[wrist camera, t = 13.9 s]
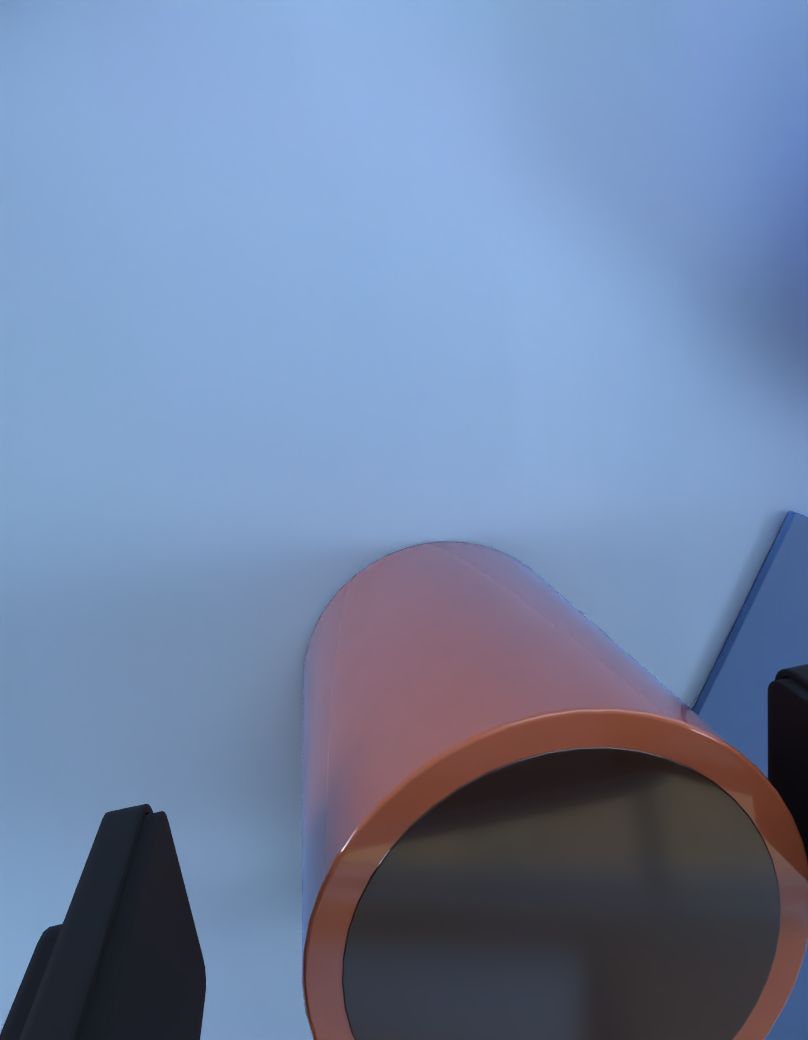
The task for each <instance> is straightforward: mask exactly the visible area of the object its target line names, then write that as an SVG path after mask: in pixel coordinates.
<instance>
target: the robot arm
mask: <svg viewBox="0 0 808 1040" xmlns="http://www.w3.org/2000/svg"><path fill="white" fill-rule="evenodd" d="M768 780H769V781H770V782H771V783H772V785H773V786H774V787H775V788H776V789H777V791H778V793H779V794H780V796H781V797H782V799H783V801H784V802H785V804H786V806H787V807H788V809H789V810H790V812H791V814H792V816H793V819H794V821H795V824H796V826H797V828H798V831H799V833H800V836H801V838H802V841H803V844H804V848H805V852H806V856H807V860H808V664H805V665H800V666H796V667H791V668H786V669H781V670H780V671H779V672H777V674H776V677H775V681H772V682H771V683H770V684H769V686H768ZM205 992H206V973H205V965H204V960H203V956H202V952H201V948H200V944H199V940H198V936H197V932H196V928H195V924H194V920H193V916H192V913H191V909H190V905H189V901H188V897H187V893H186V889H185V885H184V881H183V877H182V873H181V869H180V866H179V862H178V858H177V854H176V850H175V846H174V842H173V838H172V834H171V830H170V826H169V822H168V819H167V816H166V814H165V812H163V811H161V812H157V813H153V811H152V809H151V807H150V806H149V805H148V804H143V805H139V806H134V807H129V808H125V809H120V810H115V811H110V812H107V813H105V815H104V817H103V819H102V822H101V824H100V827H99V830H98V832H97V835H96V837H95V840H94V843H93V845H92V848H91V851H90V853H89V856H88V859H87V861H86V864H85V867H84V869H83V872H82V875H81V877H80V880H79V883H78V885H77V888H76V890H75V893H74V896H73V898H72V901H71V904H70V906H69V909H68V912H67V914H66V917H65V920H64V922H63V924H60V925H56V926H52V927H49V928H48V929H46V930H45V931H44V932H43V934H42V936H41V937H40V939H39V941H38V943H37V946H36V948H35V951H34V953H33V955H32V958H31V960H30V963H29V965H28V968H27V970H26V973H25V975H24V977H23V980H22V982H21V985H20V987H19V990H18V992H17V995H16V997H15V1000H14V1002H13V1004H12V1007H11V1009H10V1012H9V1014H8V1017H7V1019H6V1022H5V1024H4V1027H3V1029H2V1031H1V1034H0V1040H200V1035H201V1026H202V1018H203V1010H204V1001H205Z"/></svg>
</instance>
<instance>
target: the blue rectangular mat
mask: <svg viewBox="0 0 808 1040" xmlns="http://www.w3.org/2000/svg"><path fill="white" fill-rule="evenodd" d="M805 664H808V517H806V516H803V515H801V514H799V513H796V512H793V511H789V513H788V515H787V517H786V519H785V521H784V523H783V525H782V527H781V529H780V531H779V533H778V536H777V538H776V540H775V542H774V544H773V546H772V548H771V550H770V552H769V554H768V556H767V558H766V560H765V562H764V565H763V567H762V569H761V571H760V573H759V575H758V577H757V579H756V581H755V583H754V585H753V587H752V589H751V591H750V594H749V596H748V598H747V600H746V602H745V604H744V606H743V608H742V610H741V612H740V614H739V616H738V618H737V620H736V622H735V625H734V627H733V629H732V631H731V633H730V635H729V637H728V639H727V641H726V643H725V645H724V647H723V649H722V651H721V654H720V656H719V658H718V660H717V662H716V664H715V666H714V668H713V670H712V672H711V674H710V676H709V678H708V680H707V683H706V685H705V687H704V689H703V691H702V693H701V695H700V697H699V699H698V701H697V703H696V705H695V707H694V709H693V711H694V712H695V713H696V714H697V715H698V716H700V717H701V718H702V719H703V720H704V721H705V722H706V723H708V724H709V725H710V726H711V727H712V728H713V729H714V730H716V731H717V732H718V733H719V734H720V735H721V736H722V737H724V738H725V739H726V740H727V741H728V742H729V743H730V744H732V745H733V746H734V747H735V748H736V749H737V750H738V751H740V752H741V753H742V754H743V755H744V756H745V757H746V758H748V759H749V760H750V761H751V762H752V763H753V764H754V765H756V766H757V767H758V768H759V769H760V771H761V772H762V773H763V774H764V775H765V776H766V778H767V779H768V686H769V684H770V683H771V682H772V681H775V677H776V674H777V672H779V671H780V670H781V669H786V668H791V667H796V666H800V665H805ZM764 1040H808V942H807V948H806V953H805V956H804V960H803V963H802V966H801V969H800V972H799V975H798V978H797V981H796V983H795V986H794V988H793V990H792V992H791V994H790V996H789V998H788V1001H787V1003H786V1005H785V1007H784V1009H783V1011H782V1012H781V1014H780V1016H779V1017H778V1019H777V1021H776V1022H775V1024H774V1025H773V1027H772V1029H771V1030H770V1032H769V1034H768V1035H767V1036H766V1038H765V1039H764Z"/></svg>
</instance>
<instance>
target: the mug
mask: <svg viewBox="0 0 808 1040" xmlns="http://www.w3.org/2000/svg"><path fill="white" fill-rule="evenodd" d="M807 942H808V860H807V856H806V852H805V848H804V844H803V841H802V838H801V836H800V833H799V831H798V828H797V826H796V824H795V821H794V819H793V816H792V814H791V812H790V810H789V809H788V807H787V806H786V804H785V802H784V801H783V799H782V797H781V796H780V794H779V793H778V791H777V789H776V788H775V787H774V786H773V785H772V783H771V782H770V781H769V780H768V779H767V778H766V776H765V775H764V774H763V773H762V772H761V771H760V769H759V768H758V767H757V766H756V765H754V764H753V763H752V762H751V761H750V760H749V759H748V758H746V757H745V756H744V755H743V754H742V753H741V752H740V751H738V750H737V749H736V748H735V747H734V746H733V745H732V744H730V743H729V742H728V741H727V740H726V739H725V738H724V737H722V736H721V735H720V734H719V733H718V732H717V731H716V730H714V729H713V728H712V727H711V726H710V725H709V724H708V723H706V722H705V721H704V720H703V719H702V718H701V717H700V716H698V715H697V714H696V713H695V712H694V711H693V710H692V709H690V708H689V707H688V706H687V705H686V704H685V703H684V702H682V701H681V700H680V699H679V698H678V697H677V696H676V695H674V694H673V693H672V692H671V691H670V690H669V689H668V688H666V687H665V686H664V685H663V684H662V683H661V682H660V681H658V680H657V679H656V678H655V677H654V676H653V675H652V674H650V673H649V672H648V671H647V670H646V669H645V668H644V667H642V666H641V665H640V664H639V663H638V662H637V661H636V660H634V659H633V658H632V657H631V656H630V655H629V654H628V653H626V652H625V651H624V650H623V649H622V648H621V647H620V646H618V645H617V644H616V643H615V642H614V641H613V640H612V639H610V638H609V637H608V636H607V635H606V634H605V633H604V632H602V631H601V630H600V629H599V628H598V627H597V626H596V625H594V624H593V623H592V622H591V621H590V620H589V619H588V618H586V617H585V616H584V615H583V614H582V613H581V612H580V611H578V610H577V609H576V608H575V607H574V606H573V605H572V604H570V603H569V602H568V601H567V600H566V599H565V598H564V597H563V596H561V595H560V594H559V593H558V592H557V591H556V590H555V589H553V588H552V587H551V586H550V585H549V584H548V583H547V582H545V581H544V580H543V579H542V578H541V577H540V576H538V575H537V574H536V573H535V572H534V571H533V570H531V569H530V568H529V567H528V566H526V565H525V564H523V563H521V562H520V561H518V560H517V559H515V558H513V557H511V556H509V555H507V554H505V553H502V552H500V551H498V550H495V549H492V548H488V547H485V546H482V545H477V544H470V543H464V542H436V543H427V544H422V545H417V546H413V547H409V548H405V549H403V550H400V551H397V552H395V553H392V554H389V555H387V556H385V557H383V558H382V559H380V560H378V561H376V562H374V563H372V564H371V565H369V566H368V567H366V568H365V569H363V570H362V571H361V572H359V573H358V574H356V575H355V576H354V577H353V578H352V579H351V580H350V581H349V582H347V583H346V584H345V585H344V586H343V587H342V588H341V589H340V590H339V592H338V593H337V594H336V595H335V596H334V597H333V599H332V600H331V601H330V602H329V604H328V605H327V607H326V608H325V610H324V612H323V613H322V615H321V616H320V618H319V620H318V622H317V624H316V626H315V628H314V631H313V633H312V635H311V638H310V641H309V645H308V648H307V651H306V657H305V662H304V668H303V791H302V988H303V996H304V1004H305V1012H306V1016H307V1019H308V1023H309V1026H310V1030H311V1033H312V1037H313V1040H764V1039H765V1038H766V1036H767V1035H768V1034H769V1032H770V1030H771V1029H772V1027H773V1025H774V1024H775V1022H776V1021H777V1019H778V1017H779V1016H780V1014H781V1012H782V1011H783V1009H784V1007H785V1005H786V1003H787V1001H788V998H789V996H790V994H791V992H792V990H793V988H794V986H795V983H796V981H797V978H798V975H799V972H800V969H801V966H802V963H803V960H804V956H805V953H806V948H807Z"/></svg>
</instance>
